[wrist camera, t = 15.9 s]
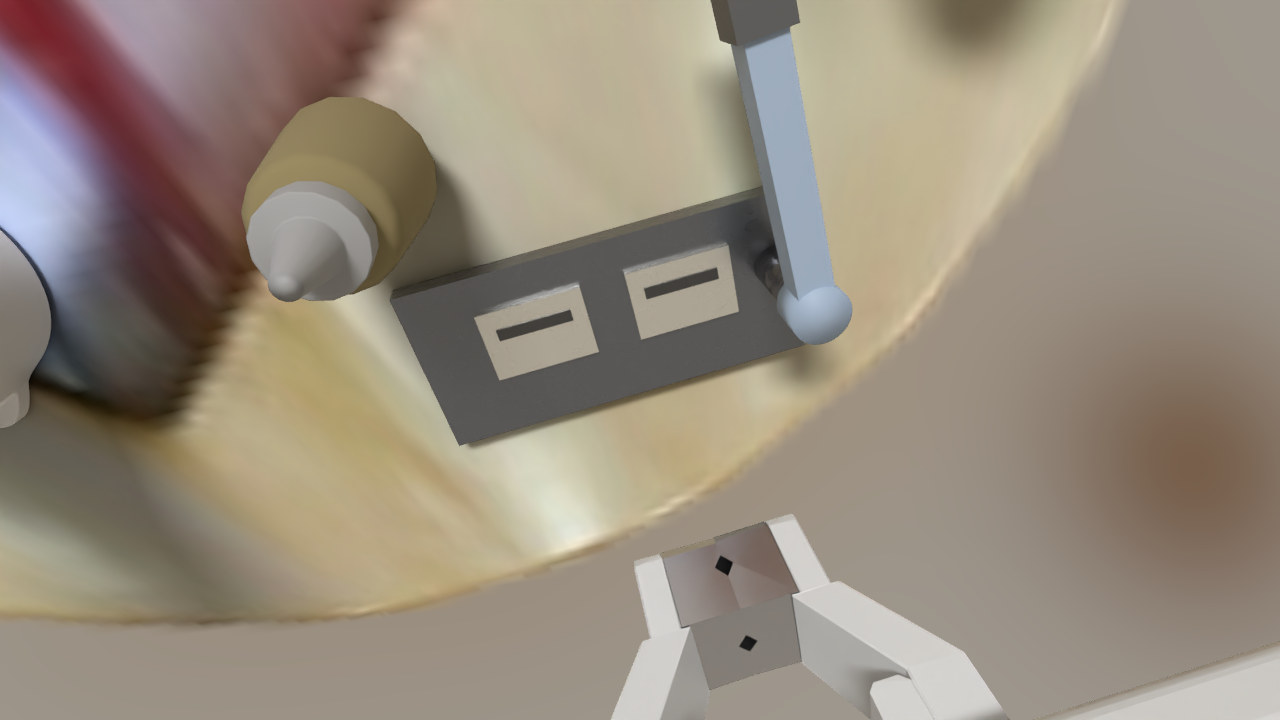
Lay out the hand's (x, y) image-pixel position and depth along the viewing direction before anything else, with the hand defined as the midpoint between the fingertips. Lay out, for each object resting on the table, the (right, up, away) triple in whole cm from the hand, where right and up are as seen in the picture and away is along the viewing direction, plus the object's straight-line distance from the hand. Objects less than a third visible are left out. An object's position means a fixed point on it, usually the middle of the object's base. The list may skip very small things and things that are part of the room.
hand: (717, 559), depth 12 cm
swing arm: (+6, +14, +24) cm, 29 cm away
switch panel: (-3, +7, +34) cm, 35 cm away
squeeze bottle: (-17, +15, +27) cm, 35 cm away
